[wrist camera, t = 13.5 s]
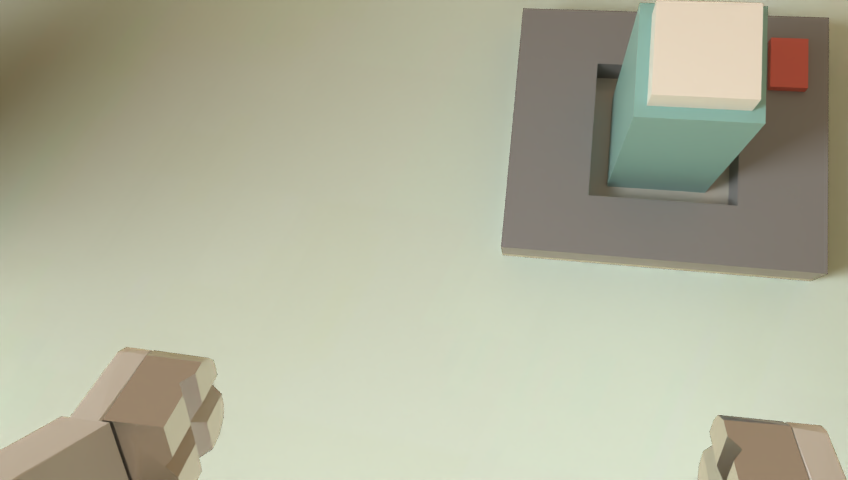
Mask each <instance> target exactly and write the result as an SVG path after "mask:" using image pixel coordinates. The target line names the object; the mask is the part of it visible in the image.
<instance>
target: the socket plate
mask: <svg viewBox="0 0 848 480" xmlns="http://www.w3.org/2000/svg"><path fill="white" fill-rule="evenodd" d="M636 15H637V12H625V11H592V10H560V9H527V8H523V16H522V27H521V38H520V49H519V59H518V70H517V81H516V92H515V103H514V113H513V124H512V135H511V146H510V157H509V167H508V178H507V189H506V200H505V211H504V221H503V232H502V243H501V249H502V255H506V256H518V257H530V258H542V259H554V260H566V261H578V262H590V263H601V264H613V265H625V266H637V267H649V268H661V269H673V270H685V271H697V272H709V273H720V274H732V275H744V276H756V277H768V278H780V279H792V280H804V281H811V280H814V279H816V278H819V277H821V276H824V275H826V274H828V59H829V18H819V17H787V16H768V26H767V75H766V124H765V125H764V126H763V127H762V128H761V129H760V130H759V132H758V133H757V134H756V135H755V136H754V137H753V138H752V140H751V141H750V142H749V143H748V144H747V145H746V146H745V148H744V149H743V150H742V151H741V152H740V153H739V154H738V156H737V157H736V158H735V159H734V160H733V161H732V162H731V164H730V165H729V166H728V167H727V168H726V169H725V170H724V172H723V173H722V174H721V175H720V176H719V177H718V178H717V180H716V181H715V182H714V183H713V184H712V185H711V186H710V187H709V189H708V190H707V191H706V192H705V193H699V192H684V191H669V190H654V189H640V188H625V187H610V186H607V177H608V161H609V146H610V130H611V115H612V99H613V95H614V92H615V88H616V85H617V81H618V78H619V74H620V71H621V67H622V64H623V60H624V57H625V53H626V50H627V46H628V43H629V39H630V36H631V33H632V29H633V26H634V22H635V19H636Z"/></svg>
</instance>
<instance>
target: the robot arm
mask: <svg viewBox="0 0 848 480" xmlns="http://www.w3.org/2000/svg"><path fill="white" fill-rule="evenodd" d="M216 377H217V371H216V367H215V363H214V360H212V359H210V358H206V357H199V356H191V355H184V354H177V353H170V352H163V351H156V350H154V351H152V350H144V349H137V348H130V347H125V348H124V349H122V350H120V351H119V352H117V354H116V355H115V356H114V358H113V359H112V360H111V362H110V363H109V364H108V366H107V367H106V369H105V370H104V371H103V373H102V374H101V375H100V377H99V378H98V379H97V381H96V382H95V383H94V385H93V386H92V388H91V389H90V390H89V392H88V393H87V394H86V396H85V397H84V398H83V400H82V401H81V402H80V404H79V405H78V406H77V408H76V409H75V411H74V412H73V413H72V415H71V416H70V417H63V416H61V417H59V418H57V419H56V420H54V421H52V422H50V423H48V424H47V425H45V426H43V427H41V428H39V429H38V430H36V431H34V432H32V433H30V434H29V435H27V436H25V437H23V438H21V439H20V440H18V441H16V442H14V443H12V444H11V445H9V446H7V447H5V448H3V449H2V450H0V480H198V478H199V476H200V474H201V472H202V468H201V464H200V459H199V458H200V457H201V456H203V455H204V454H206V453H207V452H209V451H210V450H212V449H213V447H214V445H215V443H216V441H217V439H218V437H219V435H220V430H221V426H222V422H223V418H224V404H223V398H222V394H221V393H220V392H219V391H218V390H217V389H216V388H215V387H214V386H213V385H212V384H213V382H214V380H215V379H216ZM709 432H710V437H711V442H712V446H710V447H709V448H707V449H706V450H704V451H703V453H702V456H701V460H700V463H699V469H698V480H846V477H845V475H844V472H843V470H842V467H841V465H840V462H839V460H838V457H837V455H836V453H835V450H834V448H833V445H832V443H831V440H830V438H829V435H828V433H827V431H826V430H825V429H824V428H823V427H822V426H820V425H810V424H800V423H791V422H786V423H784V422H781V421H772V420H762V419H752V418H743V417H733V416H723V415H717V417H716V418H715V419H714V420H713V423H712V426H711V429H710V431H709Z"/></svg>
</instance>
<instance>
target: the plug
mask: <svg viewBox="0 0 848 480" xmlns="http://www.w3.org/2000/svg"><path fill="white" fill-rule="evenodd" d="M767 26H768V6H763V3H744V2H707V1H671V0H656V3H640V5H639V8H638V12H637V15H636V19H635V22H634V26H633V29H632V33H631V36H630V39H629V43H628V46H627V50H626V53H625V57H624V60H623V64H622V67H621V71H620V74H619V78H618V81H617V85H616V88H615V92H614V95H613V99H612V115H611V130H610V146H609V161H608V177H607V186H610V187H625V188H640V189H654V190H669V191H684V192H699V193H705V192H706V191H707V190H708V189H709V187H710V186H711V185H712V184H713V183H714V182H715V181H716V180H717V178H718V177H719V176H720V175H721V174H722V173H723V172H724V170H725V169H726V168H727V167H728V166H729V165H730V164H731V162H732V161H733V160H734V159H735V158H736V157H737V156H738V154H739V153H740V152H741V151H742V150H743V149H744V148H745V146H746V145H747V144H748V143H749V142H750V141H751V140H752V138H753V137H754V136H755V135H756V134H757V133H758V132H759V130H760V129H761V128H762V127H763V126H764V125H765V124H766V75H767Z"/></svg>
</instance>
